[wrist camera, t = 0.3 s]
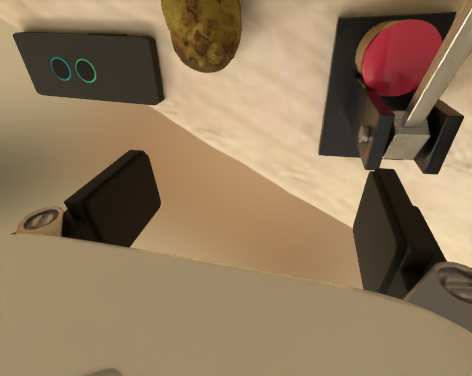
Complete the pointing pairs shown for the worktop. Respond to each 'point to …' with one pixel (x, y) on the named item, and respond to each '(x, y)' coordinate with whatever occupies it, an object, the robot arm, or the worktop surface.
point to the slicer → (377, 102)
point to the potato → (204, 31)
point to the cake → (397, 55)
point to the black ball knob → (430, 90)
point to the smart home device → (93, 66)
